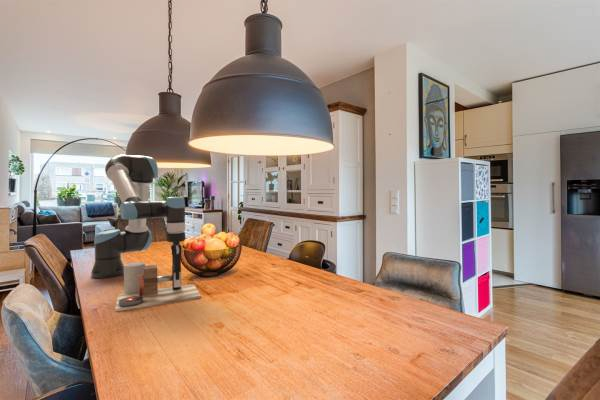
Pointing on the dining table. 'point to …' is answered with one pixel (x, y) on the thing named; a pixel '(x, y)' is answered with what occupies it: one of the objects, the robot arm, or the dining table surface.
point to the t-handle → (168, 279)
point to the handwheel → (134, 299)
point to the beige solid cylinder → (132, 276)
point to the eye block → (158, 292)
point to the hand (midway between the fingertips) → (176, 285)
